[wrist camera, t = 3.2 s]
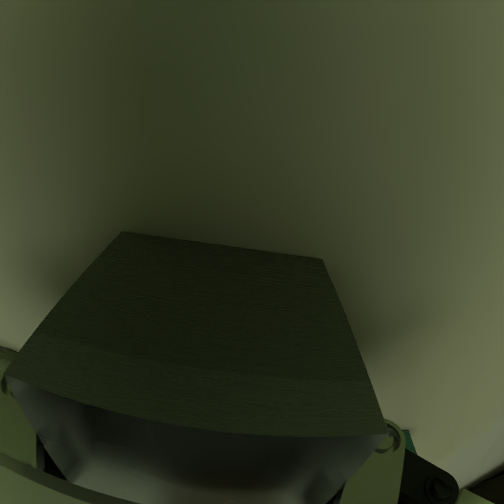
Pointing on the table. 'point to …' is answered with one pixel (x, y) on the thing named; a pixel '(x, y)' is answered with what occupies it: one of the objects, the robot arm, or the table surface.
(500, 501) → the stone bowl
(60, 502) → the robot arm
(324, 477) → the brushed grey cube
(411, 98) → the table surface
